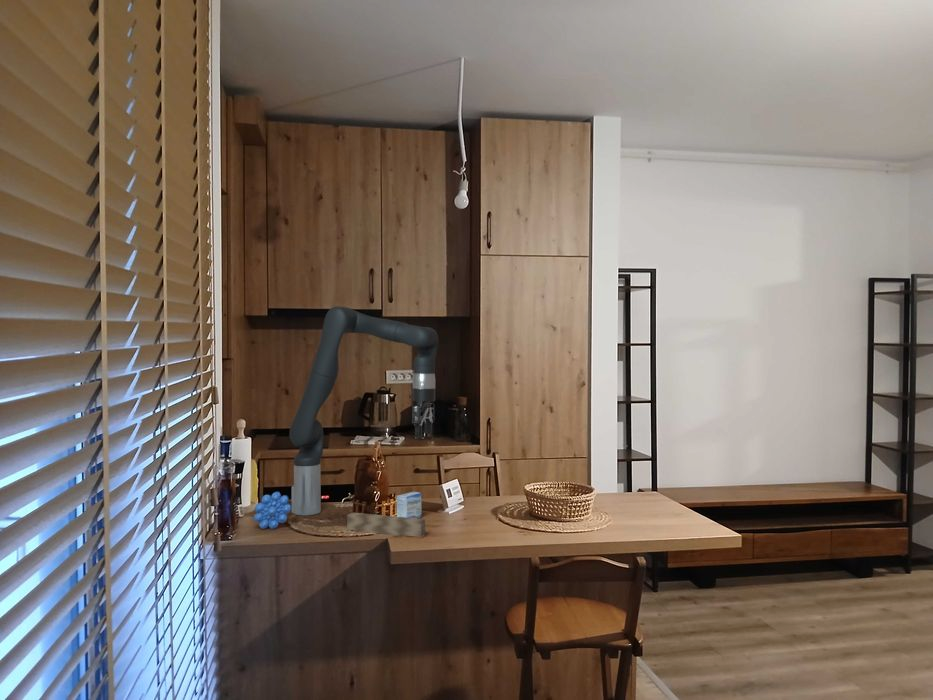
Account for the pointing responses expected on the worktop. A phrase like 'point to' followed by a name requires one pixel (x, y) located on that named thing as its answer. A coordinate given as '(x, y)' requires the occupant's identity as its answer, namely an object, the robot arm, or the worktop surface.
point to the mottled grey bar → (386, 524)
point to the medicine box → (409, 505)
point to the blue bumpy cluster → (272, 510)
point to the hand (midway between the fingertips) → (423, 435)
